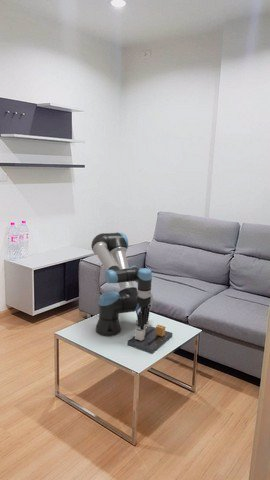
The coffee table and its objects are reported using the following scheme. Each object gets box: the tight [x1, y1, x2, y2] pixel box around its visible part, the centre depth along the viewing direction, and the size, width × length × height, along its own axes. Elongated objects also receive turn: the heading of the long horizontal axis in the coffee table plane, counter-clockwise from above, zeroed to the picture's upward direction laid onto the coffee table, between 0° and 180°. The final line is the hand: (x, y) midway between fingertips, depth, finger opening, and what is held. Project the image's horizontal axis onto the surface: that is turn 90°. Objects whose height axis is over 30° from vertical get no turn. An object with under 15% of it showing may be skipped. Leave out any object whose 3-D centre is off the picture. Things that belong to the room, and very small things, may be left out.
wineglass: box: [135, 291, 154, 327], centre depth 227 cm, size 9×9×21 cm
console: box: [127, 325, 173, 354], centre depth 208 cm, size 16×24×2 cm, turn 148°
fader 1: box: [134, 328, 145, 341], centre depth 204 cm, size 4×3×5 cm
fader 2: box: [155, 324, 166, 336], centre depth 210 cm, size 4×3×5 cm
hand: (142, 334), depth 207 cm, fingers closed
